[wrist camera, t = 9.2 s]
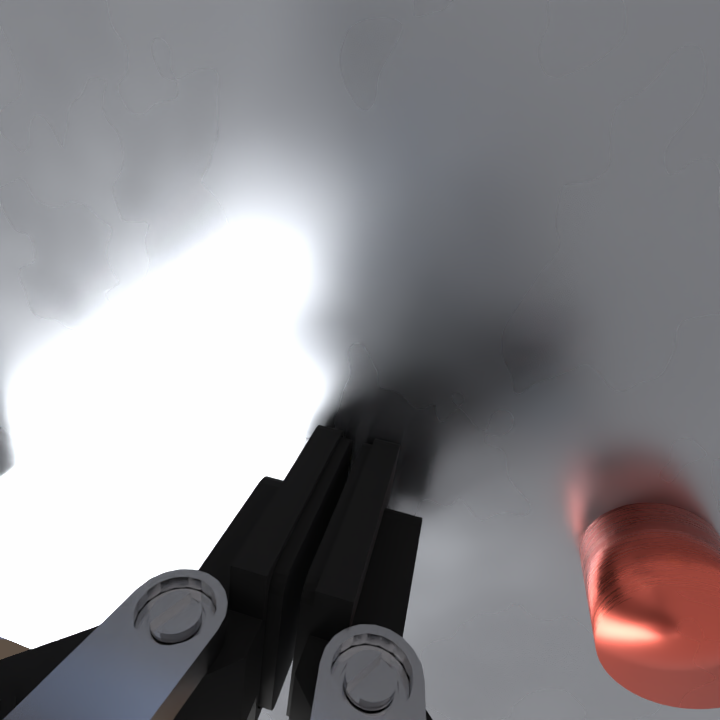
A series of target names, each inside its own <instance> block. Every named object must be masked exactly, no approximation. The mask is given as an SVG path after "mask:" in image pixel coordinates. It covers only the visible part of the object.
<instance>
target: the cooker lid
mask: <svg viewBox="0 0 720 720" xmlns="http://www.w3.org/2000/svg"><path fill="white" fill-rule="evenodd" d="M318 425H322V426H326V427H330V428H334V429H338V430H343V431H344V438H346V439H350V440H352V447H351V454H350V460H349V466H348V473H347V479H346V482H347V480H348V477H349V475H350V472H351V470H352V468H353V465H354V463H355V461H356V458H357V456H358V454H359V451H360V449H361V446H362V444H363V443H366V444H370V445H372V444H373V441H374V439H379V440H383V441H387V442H391V443H395V444H399V445H400V450H399V455H398V460H397V465H396V470H395V475H394V479H393V484H392V489H391V494H390V499H389V504H388V509H392V510H395V511H399V512H403V513H407V514H410V515H414V516H418V517H421V518H422V526H421V532H420V538H419V544H418V550H417V556H416V562H415V567H414V573H413V579H412V585H411V591H410V597H409V603H408V609H407V615H406V621H405V627H404V633H403V638H404V639H405V640H406V642H407V643H408V644H409V645H410V646H411V647H412V648H413V649H414V651H415V653H416V654H417V656H418V658H419V660H420V662H421V664H422V669H423V674H424V679H425V702H426V710H427V712H428V713H429V715H430V716H431V718H432V719H433V720H720V0H0V636H1V637H4V638H6V639H9V640H11V641H13V642H16V643H18V644H21V645H23V646H25V647H28V648H30V649H33V648H36V647H39V646H41V645H44V644H47V643H50V642H53V641H56V640H59V639H61V638H64V637H67V636H70V635H73V634H76V633H79V632H81V631H84V630H87V629H90V628H93V627H96V626H99V625H100V624H101V623H102V622H103V621H104V620H105V619H106V618H107V617H108V616H109V615H110V614H111V613H112V612H113V611H114V610H115V609H116V608H117V607H118V606H120V605H121V604H122V603H123V602H124V601H125V600H126V599H127V598H128V597H129V596H130V595H131V594H132V593H133V592H134V591H135V590H136V589H137V588H138V587H140V586H141V585H142V584H143V583H145V582H146V581H147V580H149V579H150V578H153V577H155V576H157V575H159V574H161V573H164V572H168V571H172V570H177V569H195V570H199V568H200V567H201V565H202V564H203V562H204V561H205V559H206V558H207V557H208V555H209V554H210V552H211V551H212V549H213V548H214V546H215V545H216V544H217V542H218V541H219V539H220V538H221V536H222V535H223V533H224V532H225V531H226V529H227V528H228V526H229V525H230V523H231V522H232V520H233V519H234V518H235V516H236V515H237V513H238V512H239V510H240V509H241V507H242V506H243V505H244V503H245V502H246V500H247V499H248V497H249V496H250V494H251V493H252V492H253V490H254V489H255V487H256V486H257V484H258V483H259V482H260V480H261V479H262V478H263V477H265V476H269V477H273V478H276V479H280V480H284V479H285V477H286V475H287V474H288V472H289V471H290V469H291V467H292V466H293V464H294V462H295V461H296V459H297V458H298V456H299V454H300V453H301V451H302V450H303V448H304V446H305V445H306V443H307V442H308V440H309V438H310V437H311V435H312V433H313V432H314V430H315V429H316V427H317V426H318ZM292 665H293V661H292V663H291V666H290V668H289V671H288V674H287V676H286V679H285V682H284V684H283V687H282V689H281V692H280V695H279V697H278V700H277V702H276V705H275V707H274V709H273V710H272V711H271V710H268V709H265V708H262V710H261V713H260V715H259V718H258V720H289V717H288V716H286V712H287V704H288V696H289V688H290V680H291V672H292Z"/></svg>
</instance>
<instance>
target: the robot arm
mask: <svg viewBox="0 0 720 720" xmlns="http://www.w3.org/2000/svg"><path fill="white" fill-rule="evenodd" d="M351 447H352V440H350V439H346V438H344V431H343V430H338V429H334V428H330V427H326V426H322V425H318V426H317V427H316V429H315V430H314V432H313V433H312V435H311V437H310V438H309V440H308V442H307V443H306V445H305V446H304V448H303V450H302V451H301V453H300V454H299V456H298V458H297V459H296V461H295V462H294V464H293V466H292V467H291V469H290V471H289V472H288V474H287V475H286V477H285V479H284V480H280V479H276V478H273V477H269V476H265V477H263V478H262V479H261V480H260V482H259V483H258V484H257V486H256V487H255V489H254V490H253V492H252V493H251V494H250V496H249V497H248V499H247V500H246V502H245V503H244V505H243V506H242V507H241V509H240V510H239V512H238V513H237V515H236V516H235V518H234V519H233V520H232V522H231V523H230V525H229V526H228V528H227V529H226V531H225V532H224V533H223V535H222V536H221V538H220V539H219V541H218V542H217V544H216V545H215V546H214V548H213V549H212V551H211V552H210V554H209V555H208V557H207V558H206V559H205V561H204V562H203V564H202V565H201V567H200V568H199V570H195V569H177V570H172V571H168V572H164V573H161V574H159V575H157V576H155V577H153V578H150V579H149V580H147V581H146V582H145V583H143V584H142V585H141V586H140V587H138V588H137V589H136V590H135V591H134V592H133V593H132V594H131V595H130V596H129V597H128V598H127V599H126V600H125V601H124V602H123V603H122V604H121V605H120V606H118V607H117V608H116V609H115V610H114V611H113V612H112V613H111V614H110V615H109V616H108V617H107V618H106V619H105V620H104V621H103V622H102V623H101V624H100V625H99V626H96V627H93V628H90V629H87V630H84V631H81V632H79V633H76V634H73V635H70V636H67V637H64V638H61V639H59V640H56V641H53V642H50V643H47V644H44V645H41V646H39V647H36V648H33V649H30V650H27V651H25V652H21V653H19V654H16V655H13V656H10V657H7V658H4V659H1V660H0V720H258V718H259V715H260V713H261V710H262V708H265V709H268V710H271V711H272V710H273V709H274V707H275V705H276V702H277V700H278V697H279V695H280V692H281V689H282V687H283V684H284V682H285V679H286V676H287V674H288V671H289V668H290V666H291V663H292V661H293V665H292V672H291V680H290V688H289V696H288V704H287V712H286V716H288V717H289V720H433V719H432V718H431V716H430V715H429V713H428V712H427V710H426V702H425V679H424V674H423V669H422V664H421V662H420V660H419V658H418V656H417V654H416V653H415V651H414V649H413V648H412V647H411V646H410V645H409V644H408V643H407V642H406V640H405V639H404V638H403V633H404V627H405V621H406V615H407V609H408V603H409V597H410V591H411V585H412V579H413V573H414V567H415V562H416V556H417V550H418V544H419V538H420V532H421V526H422V518H421V517H418V516H414V515H410V514H407V513H403V512H399V511H395V510H392V509H388V504H389V499H390V494H391V489H392V484H393V479H394V475H395V470H396V465H397V460H398V455H399V450H400V445H399V444H395V443H391V442H387V441H383V440H379V439H374V441H373V444H372V445H370V444H366V443H363V444H362V446H361V449H360V451H359V454H358V456H357V458H356V461H355V463H354V465H353V468H352V470H351V472H350V475H349V477H348V480H347V482H346V479H347V473H348V466H349V460H350V454H351Z"/></svg>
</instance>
